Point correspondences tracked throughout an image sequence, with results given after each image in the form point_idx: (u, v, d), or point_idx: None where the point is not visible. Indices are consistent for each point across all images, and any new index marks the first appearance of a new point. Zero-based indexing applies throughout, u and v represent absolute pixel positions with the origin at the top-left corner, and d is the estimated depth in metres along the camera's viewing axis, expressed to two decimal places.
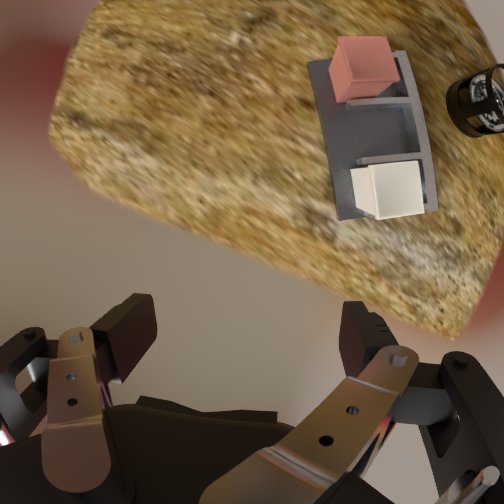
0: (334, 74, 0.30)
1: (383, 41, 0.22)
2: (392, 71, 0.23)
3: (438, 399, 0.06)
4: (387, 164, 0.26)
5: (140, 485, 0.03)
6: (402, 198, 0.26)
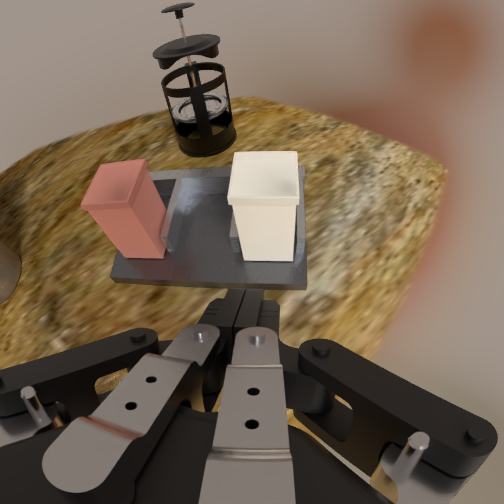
0: (128, 245, 0.30)
1: (103, 167, 0.26)
2: (134, 164, 0.26)
3: (294, 383, 0.07)
4: (231, 180, 0.23)
5: None
6: (276, 170, 0.23)
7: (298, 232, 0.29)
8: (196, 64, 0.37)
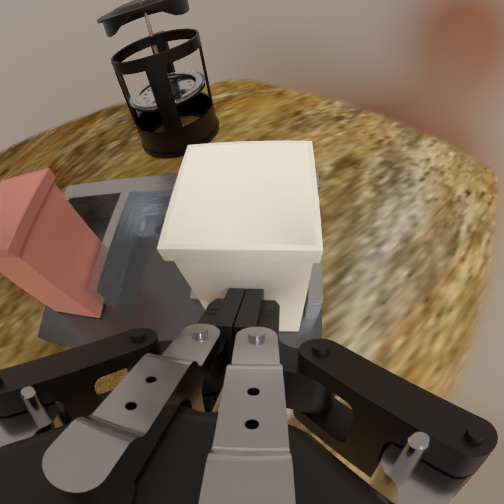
0: (48, 299, 0.17)
1: (3, 185, 0.13)
2: (34, 178, 0.13)
3: (294, 383, 0.07)
4: (171, 205, 0.11)
5: None
6: (268, 180, 0.11)
7: (310, 291, 0.16)
8: (163, 33, 0.24)
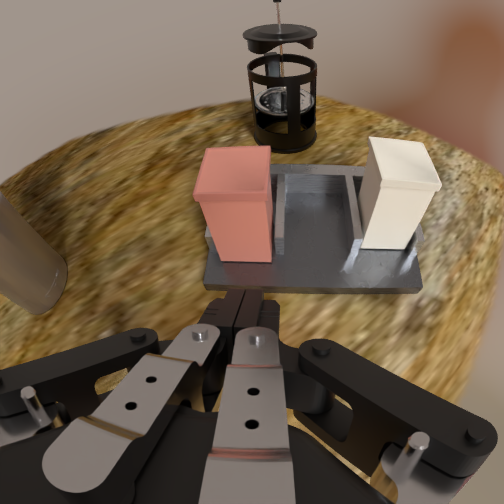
0: (234, 246, 0.27)
1: (212, 151, 0.23)
2: (257, 150, 0.23)
3: (294, 383, 0.07)
4: (378, 162, 0.21)
5: None
6: (413, 157, 0.21)
7: (417, 235, 0.25)
8: (279, 55, 0.34)
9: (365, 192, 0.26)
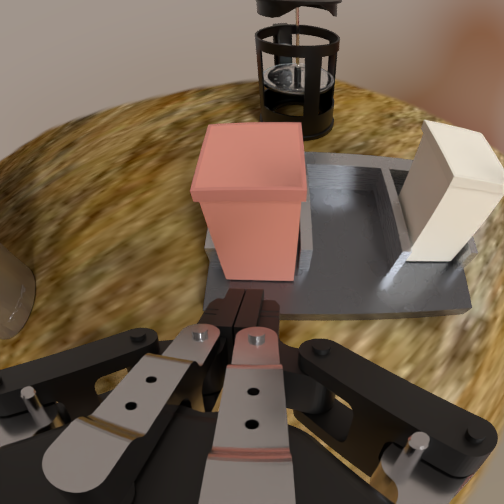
0: (246, 262, 0.20)
1: (218, 128, 0.16)
2: (283, 128, 0.15)
3: (294, 383, 0.07)
4: (444, 154, 0.14)
5: None
6: (478, 150, 0.14)
7: (470, 246, 0.19)
8: (291, 25, 0.27)
9: (413, 191, 0.19)
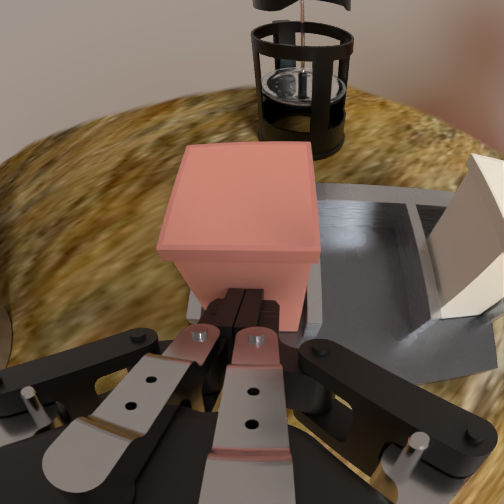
0: None
1: (199, 152, 0.12)
2: (287, 150, 0.12)
3: (294, 383, 0.07)
4: (500, 207, 0.09)
5: None
6: None
7: None
8: (294, 22, 0.22)
9: (448, 241, 0.15)
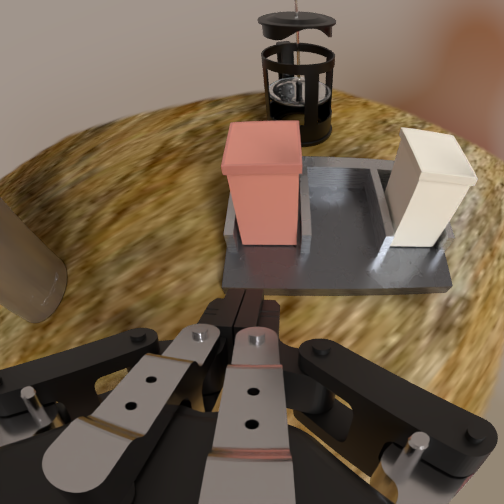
0: (259, 227, 0.25)
1: (238, 125, 0.22)
2: (286, 124, 0.21)
3: (294, 383, 0.07)
4: (415, 154, 0.18)
5: None
6: (447, 150, 0.19)
7: (447, 232, 0.23)
8: (293, 44, 0.32)
9: (395, 186, 0.24)
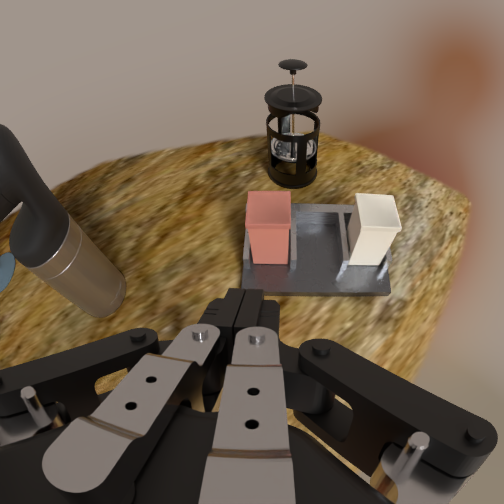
0: (264, 254, 0.41)
1: (253, 194, 0.38)
2: (282, 194, 0.37)
3: (294, 383, 0.07)
4: (360, 214, 0.35)
5: None
6: (384, 208, 0.35)
7: (387, 257, 0.39)
8: None
9: (351, 228, 0.40)
